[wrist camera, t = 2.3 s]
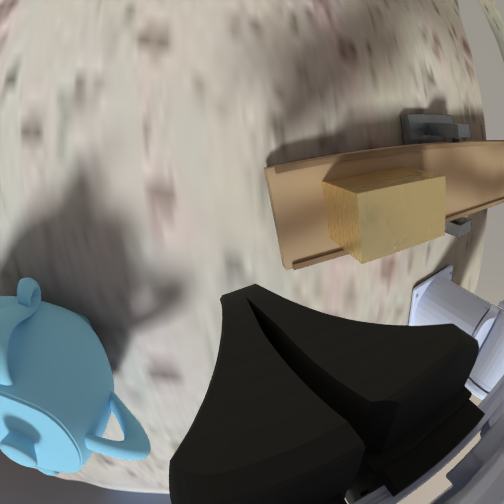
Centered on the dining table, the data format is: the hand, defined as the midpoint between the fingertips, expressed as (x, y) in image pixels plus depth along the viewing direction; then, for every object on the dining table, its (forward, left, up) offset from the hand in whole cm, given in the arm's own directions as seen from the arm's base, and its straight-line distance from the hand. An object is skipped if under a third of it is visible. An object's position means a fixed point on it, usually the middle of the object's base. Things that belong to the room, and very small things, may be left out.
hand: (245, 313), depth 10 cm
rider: (0, -12, -7) cm, 14 cm away
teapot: (-4, +15, -10) cm, 19 cm away
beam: (0, -23, -6) cm, 23 cm away
